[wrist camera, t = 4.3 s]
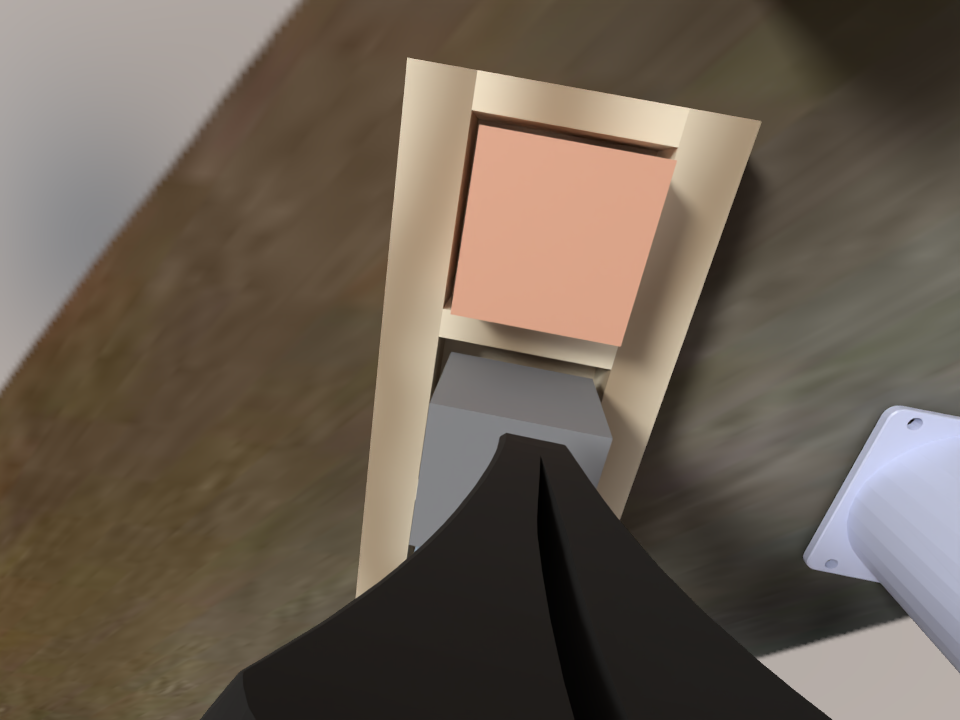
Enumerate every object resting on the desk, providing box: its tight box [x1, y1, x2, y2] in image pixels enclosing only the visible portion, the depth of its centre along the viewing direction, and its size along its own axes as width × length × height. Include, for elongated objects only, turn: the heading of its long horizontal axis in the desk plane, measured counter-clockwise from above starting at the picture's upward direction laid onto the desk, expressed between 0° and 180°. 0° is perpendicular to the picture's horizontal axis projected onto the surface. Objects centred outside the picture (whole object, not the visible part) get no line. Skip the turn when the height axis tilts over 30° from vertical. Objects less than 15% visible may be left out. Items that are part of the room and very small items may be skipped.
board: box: [356, 58, 762, 598], centre depth 18 cm, size 10×22×2 cm, turn 170°
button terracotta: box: [450, 125, 677, 347], centre depth 14 cm, size 5×5×4 cm
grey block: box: [409, 352, 613, 547], centre depth 15 cm, size 5×5×4 cm
